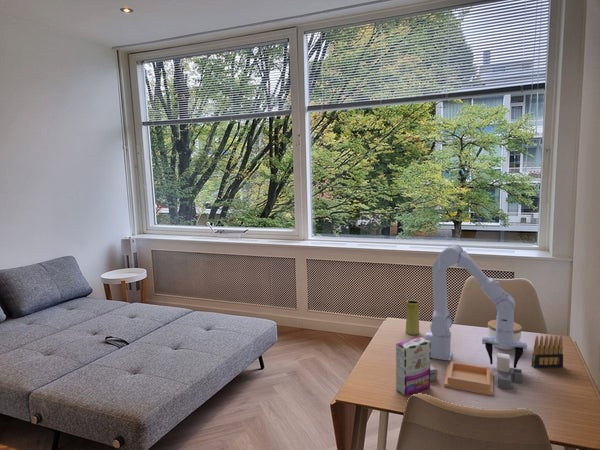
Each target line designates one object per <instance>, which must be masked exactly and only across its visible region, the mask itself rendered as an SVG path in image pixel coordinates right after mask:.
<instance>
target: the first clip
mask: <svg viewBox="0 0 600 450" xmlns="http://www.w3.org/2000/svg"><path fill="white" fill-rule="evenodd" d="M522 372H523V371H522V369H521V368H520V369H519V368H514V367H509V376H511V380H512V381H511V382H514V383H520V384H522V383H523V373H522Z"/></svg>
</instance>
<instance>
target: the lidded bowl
mask: <svg viewBox="0 0 600 450" xmlns="http://www.w3.org/2000/svg"><path fill="white" fill-rule="evenodd" d="M522 331H523V326H522V325H520V324H519V323H517V322H515V321H514V331H513V340H515V341H519V342H521V341H520V340H521V338H522ZM487 334H488V338H496V319H491V320H489V321H488V322H487ZM493 346H494V347H495V348H497V349H499V350H504V351H506V350H507V351H508V350H513V349H514V348H513V347H502V346H498V345H493Z"/></svg>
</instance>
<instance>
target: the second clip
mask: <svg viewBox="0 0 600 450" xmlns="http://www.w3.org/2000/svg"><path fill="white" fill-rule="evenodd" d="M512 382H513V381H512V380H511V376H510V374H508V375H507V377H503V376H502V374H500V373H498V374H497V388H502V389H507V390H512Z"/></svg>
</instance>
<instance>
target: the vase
mask: <svg viewBox="0 0 600 450" xmlns="http://www.w3.org/2000/svg"><path fill="white" fill-rule="evenodd" d="M405 320H406V321H405V331H404V332H405V333H406V334H407V335H411V336H416V335H419V334H420V302H419V301H418V300H413V299H412V300H411V299H410V300H407V301H406V319H405Z"/></svg>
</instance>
